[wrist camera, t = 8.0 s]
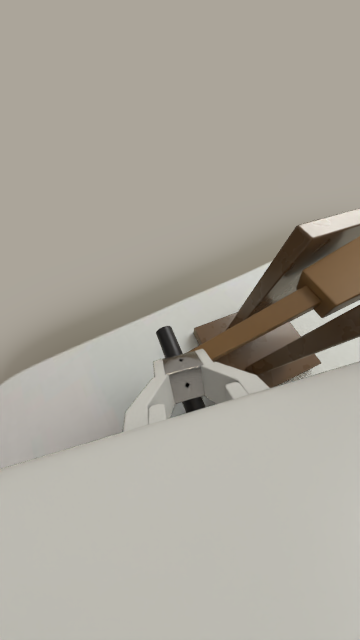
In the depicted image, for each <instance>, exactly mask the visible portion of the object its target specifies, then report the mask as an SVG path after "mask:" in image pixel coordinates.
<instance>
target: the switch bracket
mask: <svg viewBox="0 0 360 640" xmlns="http://www.w3.org/2000/svg"><path fill="white" fill-rule="evenodd" d="M359 236H360V208H358V209H355V210H351V211H347V212H344V213H341V214H336V215H333V216H329V217H326V218H322V219H318V220H315V221H311V222H307V223H304V224H300V225H298V226H296V227H295V229H294V231H293V232H292V233H291V235H290V236H289V238H288V239H287V241H286V242H285V244H284V245H283V247H282V248H281V250H280V251H279V252H278V254H277V256H276V257H275V258H274V260H273V261H272V263H271V264H270V266H269V267H268V269H267V270H266V272H265V273H264V275H263V276H262V277H261V279H260V280H259V282H258V283H257V285H256V286H255V288H254V289H253V291H252V292H251V294H250V295H249V297H248V298H247V300H246V301H245V303H244V304H243V305H242V307H241V308H240V310H239V311H238V312H237V313H234V314H231V315H229V316H226V317H223V318H220V319H218V320H215V321H212V322H210V323H207V324H204V325H202V326H199V327H196V328H194V332H193V333H194V335H195V337H196V339H197V341H198V343H199V345H201V344H203V343H205V342H207V341H208V340H210V339H212V338H214V337H215V336H217V335H219V334H221V333H223V332H224V331H226V330H228V329H230V328H231V327H233V326H235V325H237V324H238V323H240V322H242V321H244V320H245V319H247V318H249V317H251V316H253V315H254V314H256V313H258V312H260V311H261V310H263V309H265V308H267V307H268V306H270V305H272V304H274V303H275V302H277V301H279V300H281V299H282V298H284V297H286V296H288V295H290V294H291V293H293V292H295V291H297V290H296V287H297V284H298V281H299V278H300V276H301V273H302V271H303V270H304V269H306V268H307V267H309V266H311V265H312V264H314V263H316V262H317V261H319V260H321V259H322V258H324V257H326V256H327V255H329V254H331V253H332V252H334V251H336V250H337V249H339V248H341V247H342V246H344V245H346V244H347V243H349V242H351V241H352V240H354V239H356V238H358V237H359ZM357 337H360V305H358V306H356V307H355V308H353V309H351V310H349V311H347V312H346V313H344V314H342V315H340V316H338V317H336V318H335V319H333V320H331V321H329V322H327V323H325V324H324V325H322V326H320V327H318V328H316V329H314V330H313V331H311V332H309V333H307V334H305V335H304V336H302V337H301V336H300V335H299V334H298V332H297V331H296V330H295V328H294V327H293V326H292V325H291V323H290V322H288V323H286V324H284V325H282V326H280V327H278V328H276V329H274V330H273V331H271V332H269V333H267V334H265V335H263V336H261V337H259V338H257V339H255V340H253V341H251V342H249V343H248V344H246V345H244V346H242V347H240V348H238V349H236V350H234V351H232V352H230V353H228V354H226V355H224V356H222V357H221V358H219V359H217V360H215V361H213V362H218V363H221V364H224V365H227V366H230V367H233V368H236V369H239V370H242V371H245V372H248V373H251V374H254V375H257V376H258V377H259V378H260V379H261V380H262V381H263V382H264V383H265V384H266V385H267V386H268V387H269V388H272V387H275V386H277V385H279V384H281V383H283V382H285V381H287V380H289V379H291V378H293V377H295V376H297V375H299V374H301V373H303V372H305V371H307V370H309V369H311V368H313V367H315V366H317V365H319V364H321V362H320V360H319V359H318V358H317V357H316V355H315V353H318V352H320V351H323V350H325V349H328V348H331V347H333V346H336V345H339V344H341V343H344V342H347V341H349V340H352V339H355V338H357Z"/></svg>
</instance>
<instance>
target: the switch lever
mask: <svg viewBox="0 0 360 640" xmlns="http://www.w3.org/2000/svg"><path fill="white" fill-rule="evenodd" d="M296 290H297V291H295V292H293V293H291V294H290V295H288V296H286V297H284V298H282V299H281V300H279V301H277V302H275V303H274V304H272V305H270V306H268V307H267V308H265V309H263V310H261V311H260V312H258V313H256V314H254V315H253V316H251V317H249V318H247V319H245V320H244V321H242V322H240V323H238V324H237V325H235V326H233V327H231V328H230V329H228V330H226V331H224V332H223V333H221V334H219V335H217V336H215V337H214V338H212V339H210V340H208V341H207V342H205V343H203V344H201V345H200V346H198V347H196V348H194V349H193V350H191V351H189V352H192V351H196V350H199V349H204V350H205V352H206V353H207V354H208V356H209V357H210V358H211V360H212V361H215V360H217V359H219V358H221V357H222V356H224V355H226V354H228V353H230V352H232V351H234V350H236V349H238V348H240V347H242V346H244V345H246V344H248V343H249V342H251V341H253V340H255V339H257V338H259V337H261V336H263V335H265V334H267V333H269V332H271V331H273V330H274V329H276V328H278V327H280V326H282V325H284V324H286V323H288V322H290V321H292V320H294V319H296V318H298V317H300V316H301V315H303V314H305V313H307V312H309V311H311V310H313V309H314V310H315V311H316V312H317V313H318V315H319V316H320V317H321V318H324V317H326V316H328V315H330V314H332V313H334V312H336V311H338V310H340V309H342V308H344V307H346V306H348V305H350V304H352V303H354V302H356V301H358V300H360V236H359V237H358V238H356V239H354V240H352V241H351V242H349V243H347V244H346V245H344V246H342V247H341V248H339V249H337V250H336V251H334V252H332V253H331V254H329V255H327V256H326V257H324V258H322V259H321V260H319V261H317V262H316V263H314V264H312V265H311V266H309V267H307V268H306V269H304V270H303V271H302V273H301V276H300V278H299V281H298V284H297V287H296ZM156 334H157V337H158V339H159V342H160V345H161V347H162V350H163V353H164V355H165V358H168V357H172V356H177V355H181V354H183V353H182V351H181V349H180V346H179V344H178V342H177V339H176V337H175V335H174V332H173V330H172V328H171V327H170V326H165V327H162V328H160V329H159V330H158V331H157V332H156ZM187 353H188V352H187ZM182 403H183V405H184V408H185V411H186V413H189V412H192V411H196V410H199V409H202V408H206V407H205V405H204V402H203V400H202V398H201V397H197V398H193V399H189V400H186V401H183V402H182Z"/></svg>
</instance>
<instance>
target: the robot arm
mask: <svg viewBox="0 0 360 640" xmlns="http://www.w3.org/2000/svg"><path fill="white" fill-rule="evenodd" d="M153 367H154V378H152V379H151V380H150V382H149V383H148V384H147V385H146V387H145V388H144V389H143V390H142V392H141V393H140V394H139V395H138V397H137V398H136V399H135V400H134V402H133V403H132V404H131V405H130V407H129V408H128V409H127V411H126V412H125V417H124V424H123V431H122V433H119V434H115V435H112V436H109V437H105V438H102V439H99V440H95V441H92V442H89V443H85V444H82V445H79V446H75V447H72V448H69V449H65V450H62V451H59V452H55V453H52V454H49V455H45V456H42V457H39V458H35V459H32V460H29V461H25V462H22V463H19V464H15V465H12V466H9V467H5V468H2V469H0V640H360V361H359V362H356V363H353V364H349V365H346V366H342V367H339V368H336V369H332V370H329V371H326V372H322V373H319V374H316V375H312V376H309V377H306V378H302V379H299V380H296V381H292V382H289V383H286V384H282V385H279V386H276V387H272V388H269V387H268V386H267V385H266V384H265V383H264V382H263V381H262V380H261V379H260V378H259V377H258V376H257V375H254V374H251V373H248V372H245V371H242V370H239V369H236V368H233V367H230V366H227V365H224V364H221V363H218V362H213V361H212V360H211V358H210V357H209V356H208V354H207V353H206V352H205V350H204V349H199V350H196V351H192V352H188V353H185V354H181V355H177V356H172V357H168V358H164V359H159V360H155V361H153ZM201 396H206V397H207V398H208V399H210V400H211V401H213V402H214V403H216V405H212V406H209V407H206V408H202V409H199V410H196V411H192V412H189V413H185V414H182V415H179V416H175V417H172V418H170V417H171V414H172V412H173V409H174V407H175V404H177V403H180V402H183V401H186V400H189V399H193V398H197V397H201Z"/></svg>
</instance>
